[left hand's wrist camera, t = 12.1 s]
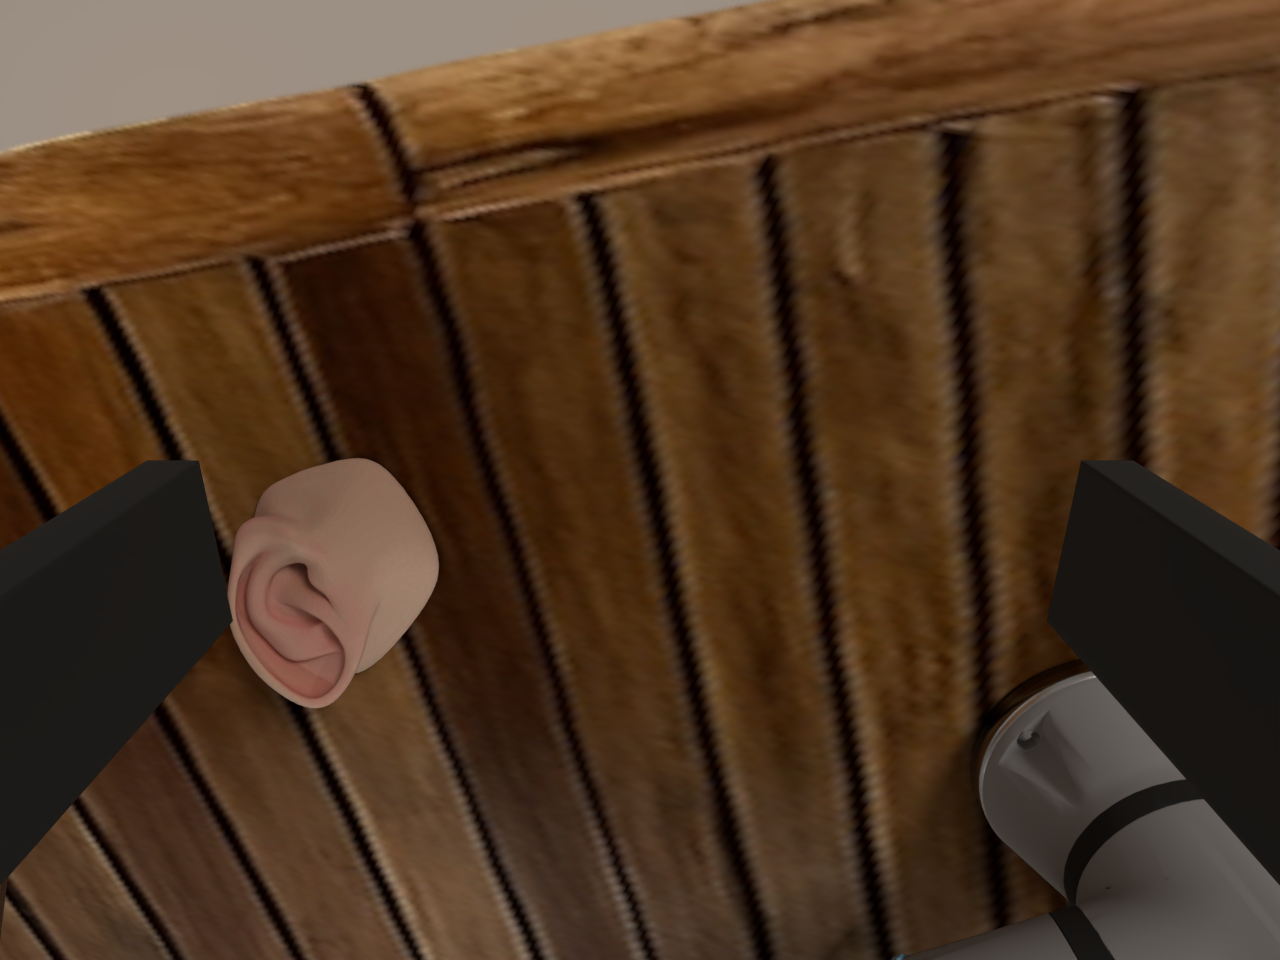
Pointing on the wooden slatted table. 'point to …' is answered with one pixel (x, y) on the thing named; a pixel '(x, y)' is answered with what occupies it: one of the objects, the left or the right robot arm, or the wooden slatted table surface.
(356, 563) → the anatomical model
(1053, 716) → the left robot arm
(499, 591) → the wooden slatted table surface
